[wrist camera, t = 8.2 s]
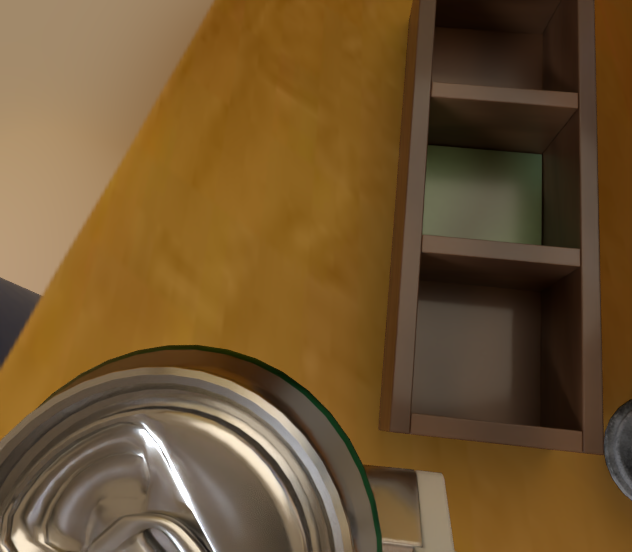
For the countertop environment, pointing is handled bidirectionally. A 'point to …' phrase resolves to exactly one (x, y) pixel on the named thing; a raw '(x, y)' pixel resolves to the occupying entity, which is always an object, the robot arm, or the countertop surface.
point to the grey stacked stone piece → (620, 448)
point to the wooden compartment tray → (497, 229)
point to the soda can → (184, 463)
